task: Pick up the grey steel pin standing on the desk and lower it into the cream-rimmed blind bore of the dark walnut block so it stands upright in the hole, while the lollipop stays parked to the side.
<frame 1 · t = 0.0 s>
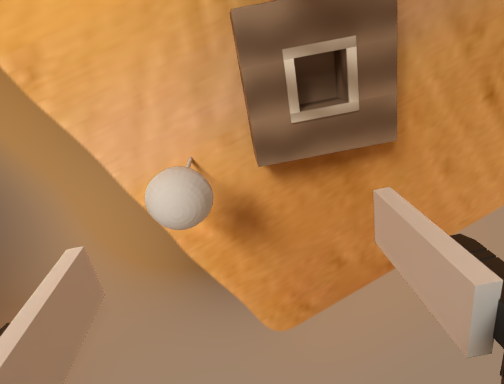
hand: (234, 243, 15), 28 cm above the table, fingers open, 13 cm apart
bore block: (310, 77, 40), on the table
lollipop: (190, 158, 43), on the table
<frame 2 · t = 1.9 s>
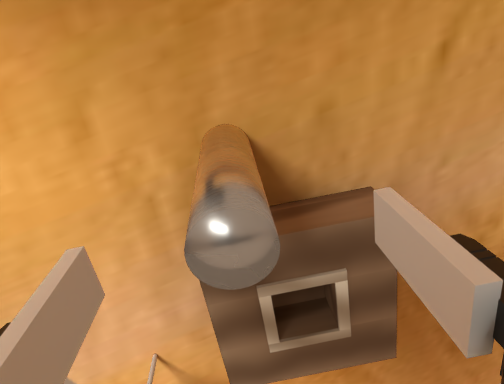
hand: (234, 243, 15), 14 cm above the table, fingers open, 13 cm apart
bore block: (294, 274, 34), on the table
pin: (226, 148, 28), on the table
lollipop: (155, 353, 37), on the table
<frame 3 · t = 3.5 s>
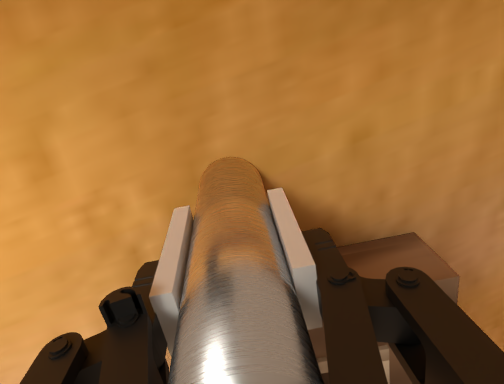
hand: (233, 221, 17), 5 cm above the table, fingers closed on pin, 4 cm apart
bore block: (314, 336, 27), on the table
pin: (231, 187, 22), on the table, touching gripper
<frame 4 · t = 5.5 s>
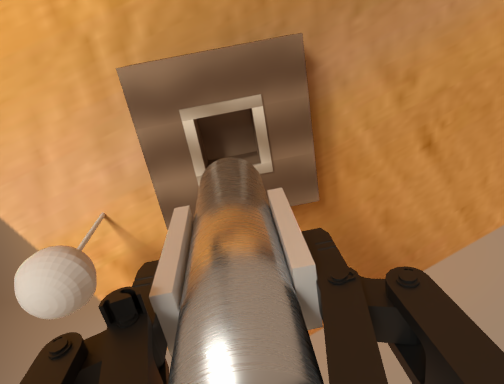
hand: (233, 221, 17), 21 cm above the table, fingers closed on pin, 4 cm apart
bore block: (227, 129, 37), on the table
pin: (231, 187, 22), point 16 cm above the table, touching gripper
lollipop: (103, 213, 39), on the table
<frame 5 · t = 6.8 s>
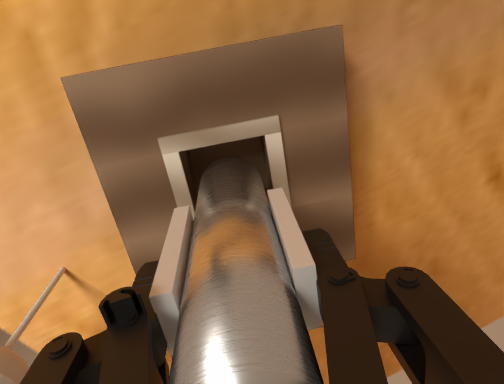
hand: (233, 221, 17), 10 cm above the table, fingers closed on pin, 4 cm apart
bore block: (228, 158, 27), on the table
pin: (231, 187, 22), point 6 cm above the table, touching gripper
lollipop: (63, 267, 30), on the table
when the fingers open (7 cm above the table, at t = 7.7 s): pin stays where it is, resting on bore block.
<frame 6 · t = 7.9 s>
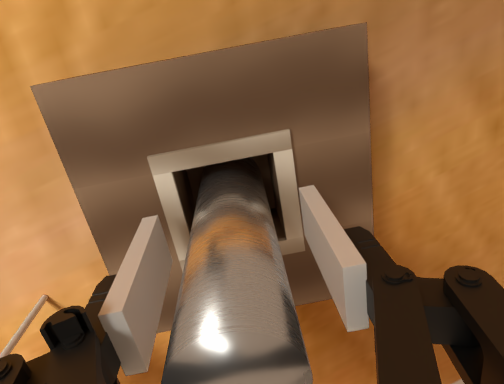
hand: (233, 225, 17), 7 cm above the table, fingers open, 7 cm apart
bore block: (230, 174, 24), on the table
pin: (231, 180, 23), point 1 cm above the table, touching bore block
lollipop: (46, 295, 27), on the table
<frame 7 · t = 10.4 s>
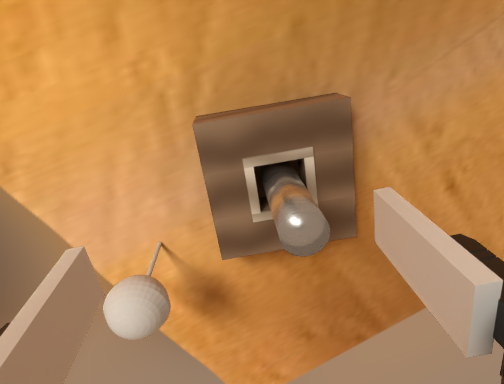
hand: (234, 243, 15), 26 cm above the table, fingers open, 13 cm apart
bore block: (275, 170, 41), on the table
pin: (277, 173, 41), point 1 cm above the table, touching bore block
lollipop: (160, 242, 44), on the table
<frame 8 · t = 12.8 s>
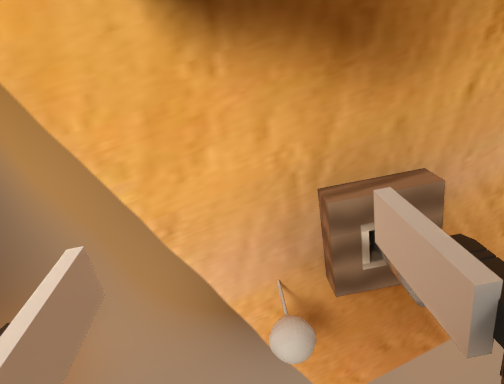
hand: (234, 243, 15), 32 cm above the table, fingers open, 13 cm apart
bore block: (372, 225, 53), on the table
pin: (375, 228, 52), point 1 cm above the table, touching bore block
lollipop: (278, 280, 56), on the table
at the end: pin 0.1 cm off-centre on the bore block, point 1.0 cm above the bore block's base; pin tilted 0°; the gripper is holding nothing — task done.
